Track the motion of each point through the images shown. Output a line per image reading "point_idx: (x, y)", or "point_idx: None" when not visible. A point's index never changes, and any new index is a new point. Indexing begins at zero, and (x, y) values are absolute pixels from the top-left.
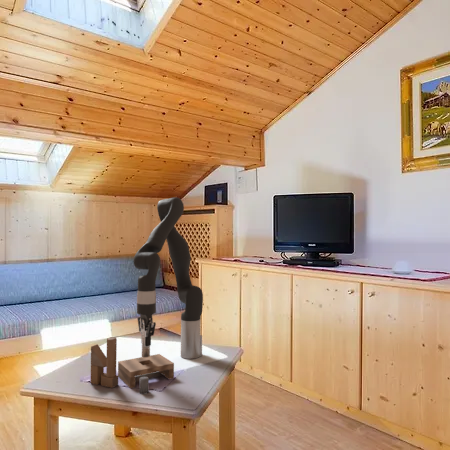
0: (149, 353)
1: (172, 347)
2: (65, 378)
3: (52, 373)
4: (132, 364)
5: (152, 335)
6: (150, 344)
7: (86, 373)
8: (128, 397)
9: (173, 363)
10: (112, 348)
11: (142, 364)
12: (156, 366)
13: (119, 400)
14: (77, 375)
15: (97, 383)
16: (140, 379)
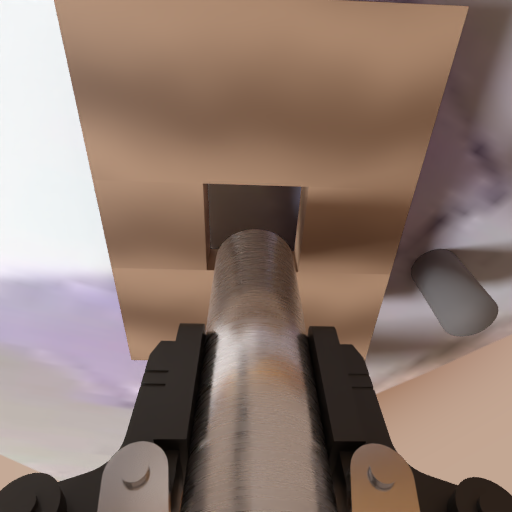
0: (287, 257)
1: None
2: (81, 435)
3: (4, 452)
4: None
5: (488, 494)
6: (334, 334)
7: (47, 380)
8: (427, 332)
9: (466, 13)
10: None
11: (207, 224)
12: (404, 203)
13: (423, 362)
14: (61, 405)
15: None
16: (467, 335)
